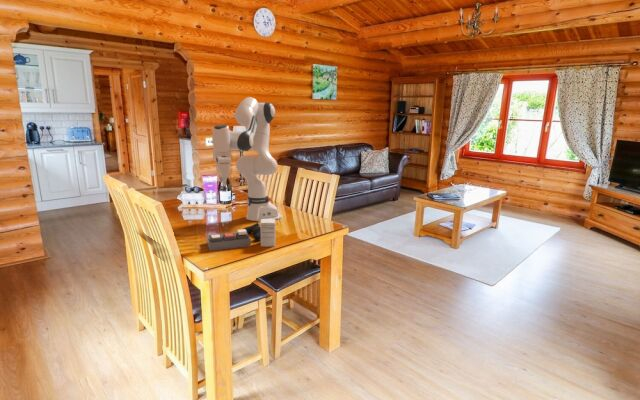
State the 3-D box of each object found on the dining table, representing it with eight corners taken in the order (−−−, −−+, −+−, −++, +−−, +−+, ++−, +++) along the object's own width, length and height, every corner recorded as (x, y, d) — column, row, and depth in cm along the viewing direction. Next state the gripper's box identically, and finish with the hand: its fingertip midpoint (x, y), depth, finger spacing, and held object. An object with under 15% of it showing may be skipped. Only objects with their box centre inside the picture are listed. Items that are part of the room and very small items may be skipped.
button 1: (219, 237, 185) (219, 234, 185) (220, 239, 182) (220, 236, 181) (211, 238, 184) (210, 235, 183) (212, 240, 180) (212, 237, 180)
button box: (245, 238, 198) (245, 228, 196) (250, 246, 187) (250, 235, 186) (206, 242, 190) (206, 232, 189) (209, 250, 179) (209, 239, 178)
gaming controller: (259, 246, 195) (273, 233, 199) (254, 238, 192) (268, 225, 196) (243, 237, 207) (257, 226, 211) (238, 230, 204) (252, 218, 208)
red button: (232, 236, 188) (232, 233, 187) (233, 238, 184) (233, 235, 184) (224, 236, 186) (224, 234, 186) (225, 239, 183) (225, 236, 182)
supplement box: (261, 241, 194) (261, 218, 191) (275, 241, 194) (275, 218, 191) (260, 246, 186) (260, 222, 184) (275, 246, 187) (275, 222, 184)
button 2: (245, 231, 190) (245, 229, 190) (246, 234, 186) (246, 231, 186) (237, 232, 188) (237, 229, 188) (238, 235, 185) (238, 232, 184)
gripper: (213, 155, 197) (214, 180, 200) (218, 160, 179) (219, 188, 182) (225, 154, 200) (226, 180, 203) (231, 159, 181) (232, 187, 185)
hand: (223, 183), depth 192 cm, fingers open, 8 cm apart
